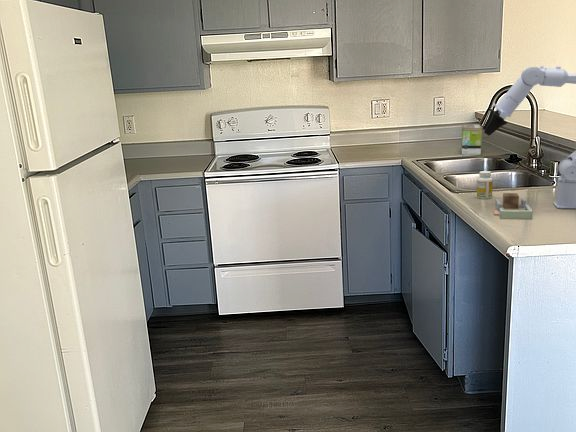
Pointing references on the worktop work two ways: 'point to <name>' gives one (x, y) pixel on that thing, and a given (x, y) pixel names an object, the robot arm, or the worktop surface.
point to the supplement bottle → (484, 185)
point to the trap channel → (513, 211)
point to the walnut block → (510, 200)
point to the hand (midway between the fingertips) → (485, 132)
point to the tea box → (471, 139)
